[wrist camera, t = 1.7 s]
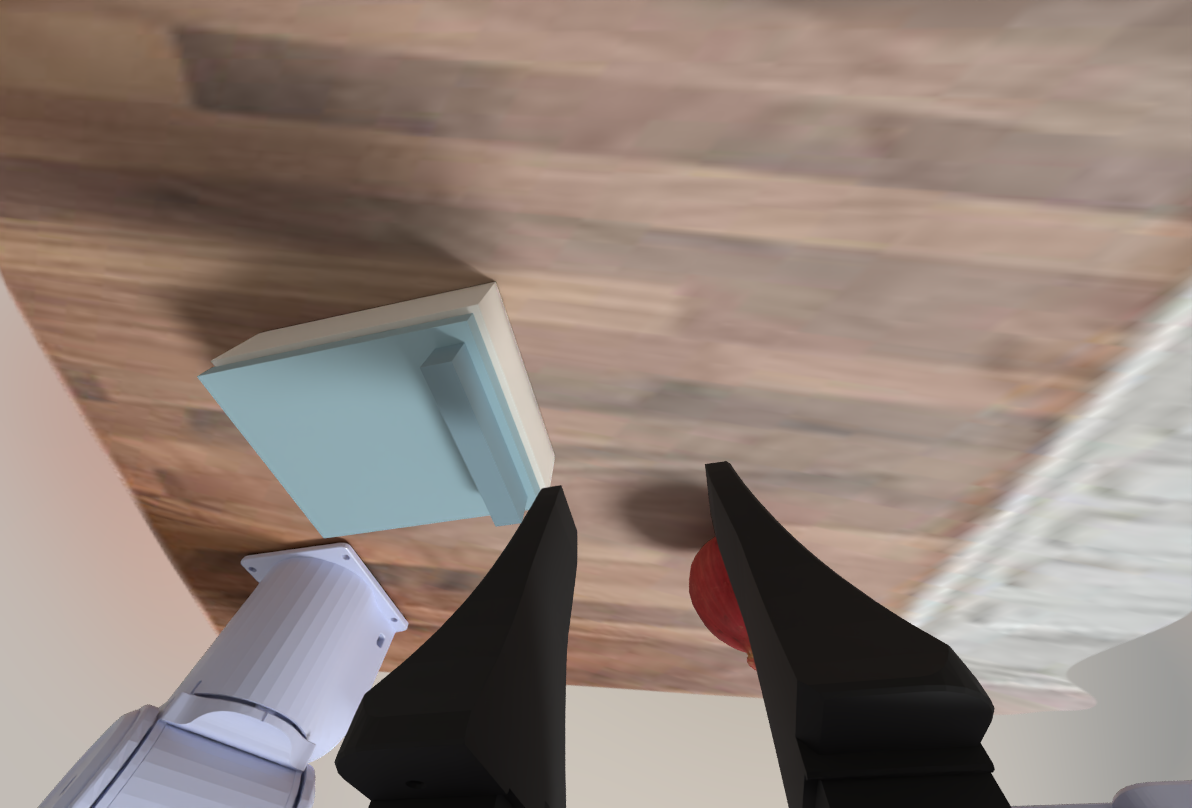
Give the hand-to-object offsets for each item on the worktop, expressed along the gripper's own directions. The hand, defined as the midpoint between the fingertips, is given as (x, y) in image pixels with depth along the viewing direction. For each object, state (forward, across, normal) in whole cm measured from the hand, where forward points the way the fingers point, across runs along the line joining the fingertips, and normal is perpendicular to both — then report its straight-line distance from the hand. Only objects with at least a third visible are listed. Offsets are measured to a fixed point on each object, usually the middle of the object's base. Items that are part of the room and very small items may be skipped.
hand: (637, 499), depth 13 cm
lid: (+6, +11, 0) cm, 13 cm away
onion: (+10, -4, +13) cm, 17 cm away
